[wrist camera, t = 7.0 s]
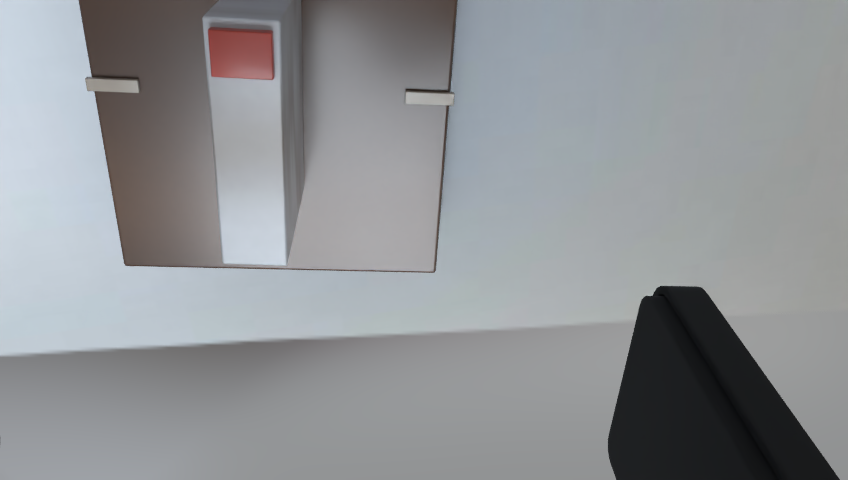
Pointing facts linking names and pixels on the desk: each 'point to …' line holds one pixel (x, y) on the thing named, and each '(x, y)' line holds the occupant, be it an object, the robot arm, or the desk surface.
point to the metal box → (256, 125)
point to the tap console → (322, 131)
